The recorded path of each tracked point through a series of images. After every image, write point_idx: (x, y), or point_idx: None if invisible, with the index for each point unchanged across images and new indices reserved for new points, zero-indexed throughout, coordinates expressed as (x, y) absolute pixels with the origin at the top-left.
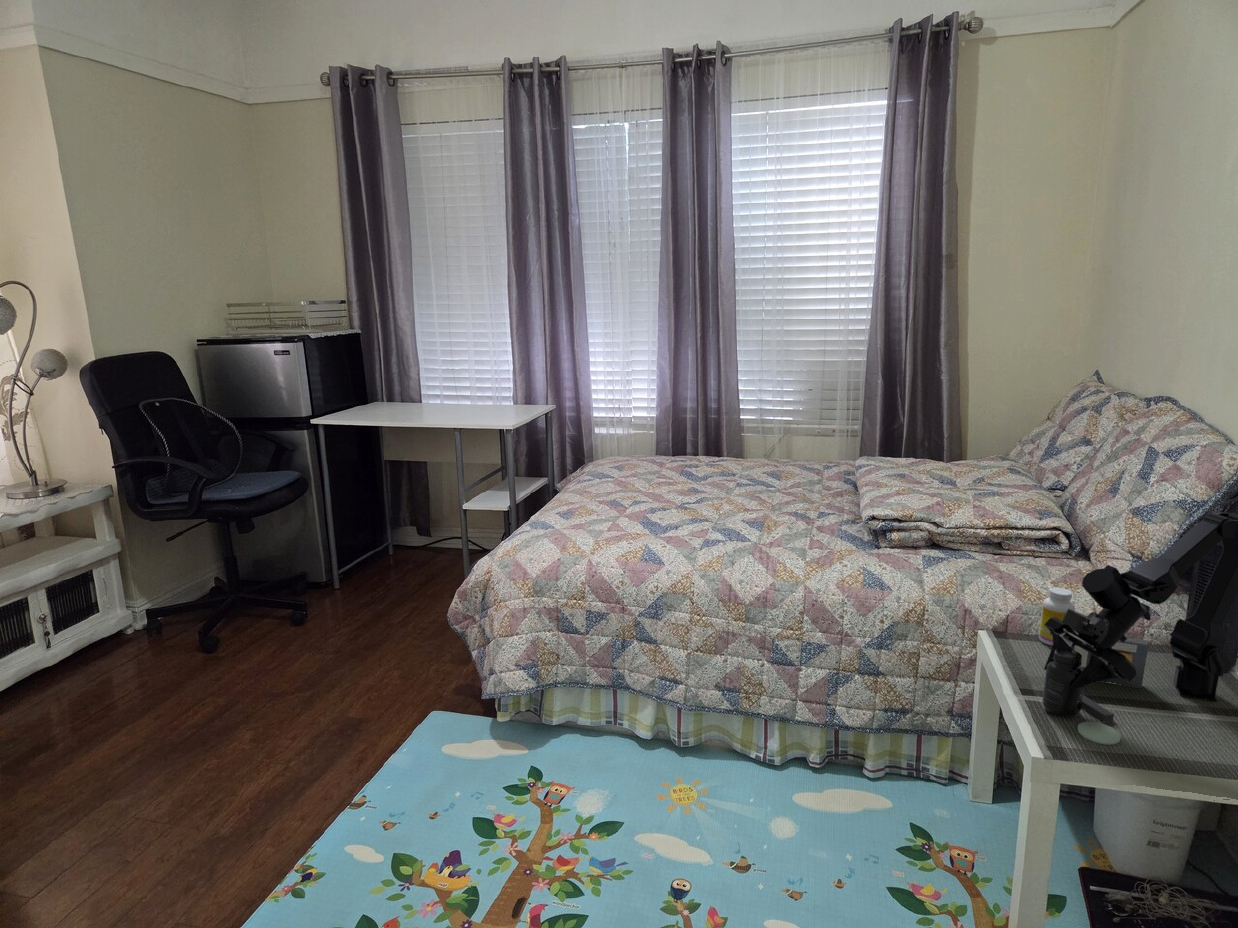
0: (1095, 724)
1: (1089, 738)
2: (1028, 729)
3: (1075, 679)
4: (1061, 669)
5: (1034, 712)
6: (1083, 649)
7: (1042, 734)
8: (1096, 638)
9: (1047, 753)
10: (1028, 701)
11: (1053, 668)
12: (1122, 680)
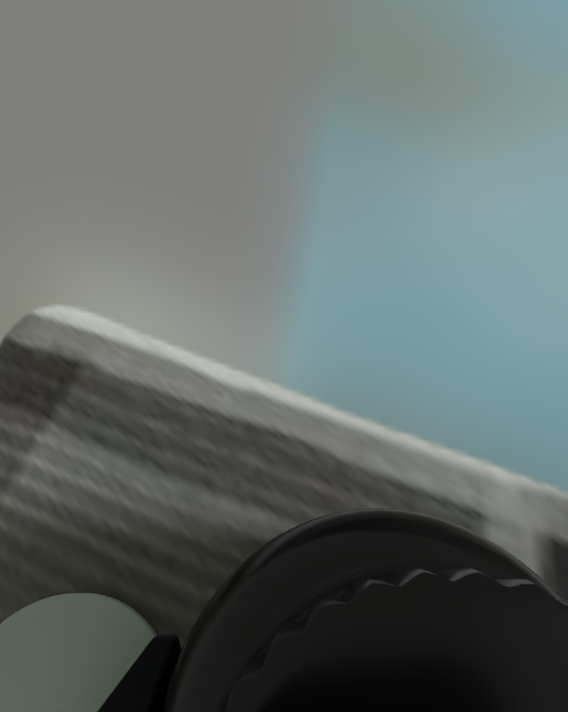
0: None
1: (30, 604)
2: (206, 363)
3: (139, 705)
4: (290, 592)
5: (345, 483)
6: None
7: (156, 398)
8: None
9: (35, 335)
10: (465, 526)
11: (370, 530)
12: None
